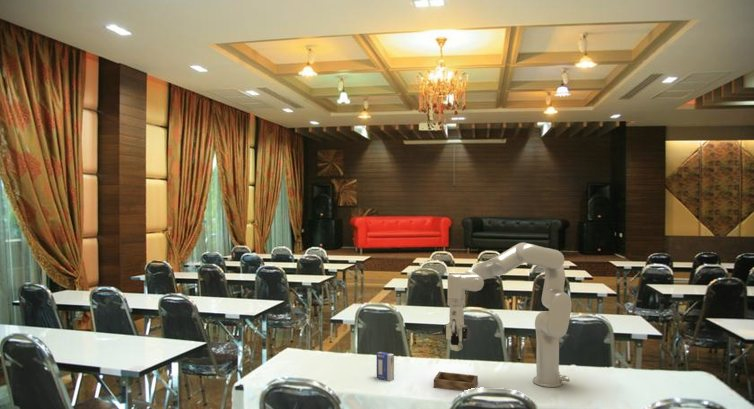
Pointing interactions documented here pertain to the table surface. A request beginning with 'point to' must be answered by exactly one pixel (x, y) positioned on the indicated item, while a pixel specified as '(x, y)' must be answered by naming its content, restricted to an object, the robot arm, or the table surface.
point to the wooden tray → (455, 381)
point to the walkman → (385, 366)
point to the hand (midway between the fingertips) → (456, 342)
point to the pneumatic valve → (462, 333)
